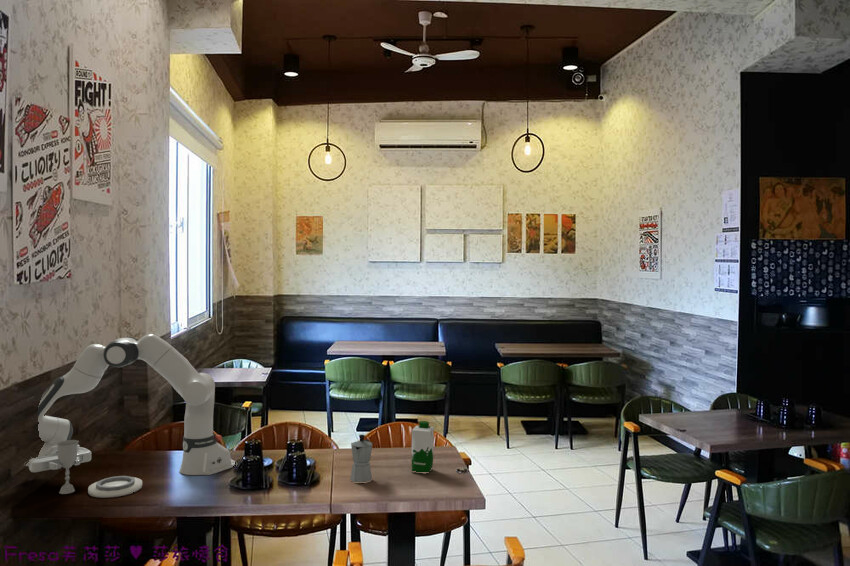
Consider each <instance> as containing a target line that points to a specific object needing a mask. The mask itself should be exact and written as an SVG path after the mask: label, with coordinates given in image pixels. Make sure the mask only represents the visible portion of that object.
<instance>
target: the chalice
mask: <svg viewBox="0 0 850 566" xmlns="http://www.w3.org/2000/svg"><path fill="white" fill-rule="evenodd" d="M79 443H80V441H79V440H77V439H70V440H67V441H61V442H58V443H56V445H57V446H58V459H59V462H60V463H61V465H62V467H61V468H63V469H65V472H64V474H65V477H64V480H65V483H64V484H63V485H62V486H61V488H60V490H59V492H58V493H59V494H61V495H67V494H72V493H74V492H75V491H76V490H75V487H74V485H73V484H71V483H70V478H71V477H70V473H71V472H70V468H71V467H72V466H73V465H74V464H73V463H74V461H75V459H76V457H77V445H79Z"/></svg>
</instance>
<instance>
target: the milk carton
mask: <svg viewBox="0 0 850 566" xmlns="http://www.w3.org/2000/svg"><path fill="white" fill-rule="evenodd" d="M429 423H430V422H429V421H428V420H426V421H425V420H420V421H419V423H418V424H419V425H415V426H414V427H413V428H412V430H411V472H412V471H416V472H429V471H430V470H431V468H432V469H433V465H434V444H435V443H434V440H435V439H434V438H435V437H434V433H435V432H434V429H435V427H434V426H431V425H429ZM431 471H432V470H431ZM431 471H430V472H431Z"/></svg>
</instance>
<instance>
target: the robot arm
mask: <svg viewBox="0 0 850 566" xmlns="http://www.w3.org/2000/svg"><path fill="white" fill-rule="evenodd" d="M137 360H142V361H144V362H145V363H146V364H147V365H149V367H151V368H152V369H153V370H154V371H155V372H157V373H158V374H159V375H160V376H161V377H163V378H164V379H165V380H166V381H167V382H168V383H169V384H170V385H171V387H172V388H173V389H174V390H175V391H176V393H178V395H180V396H181V398H183V399H182V400H184V402H185V413H184V418H183V419H184V425H183V427H184V428H183V429H184V431H183V432H184V433H183V434H184V435H183V437H182V451H183V453H182V458H181V459H182V460H181V464H180V467H179V473H180V474H182V475H186V476H201V475H202V476H211V475H214V474H217V473H220V472H222V471H226V470H228V469H231V468H234V467H235V466H234V464H235V462H236V461H235V460H233V459H232V455H231V453H230V451H229V449H228V448H226V447H224V446H223V445H222V444H220V443H219V442H218V441H221V440H222V438H223V437H222V436H223V435H220V434H214V408H215V394H216V393H215V392H216V390H215V389H216V382H215V379H214V378H213V376H211V375H210V374H208V373H206V372H198V371H197V369H195V367H194V366H193V365H192V364H191V362H189V360H188V359H187V358H186V357H185V356H184V355H182V353H180V352H179V351H178V350H177V349H176V348H175V347H173V346H172V345H171V344H170V343H169V342H167V341H166V340H164V339H163V338H161V337H160V336H158V335H156V334H155V333H154V334H153V333H148V334H145V335H144V336H142V337H141V338H140V339H137V338H135V337H132V336H125V337H119V338H116V339H114V340H113V341H111V342H109V343H108V344H107V345H106V346H105V345H103V344H100V343H99V344H98V343H92V344H89V345H88V346H87V347H85V349H84V350H83V351H82V352H81V354H80V355H79V356H78V358H77V360H76V361H75V363H74V364H73V366H72V367H71V369H70V370H69V371H68V372H66V374H64V375H62V376H60V377H59V376H58V377H57V378H55V380H53V381H52V382H51V384H50V385H49V386H48V387H47V388H46V389H45V391H44V392H43V393H42V395H41V396H42V397H41V396H40V397H41V400H40V403H39V406H38V412H37V414H38V422H39V424H38V431H39V437H40V438H41V440H42V441H44V442H45V443H44V445H43V447H42V448H41V450H40V452H39V455H38V457H36V458H32V457H31V458H30V459H29V460H28V461H29V462H28V461H27V462H28V463H27V464H26V465H25V467H28V469H29V471H30V472H31V473H40V472H45V471H49V470H51V471H53V470H54V471H55V470H60V469H62V468H63V467H62V465H61V463H60V462H59V459H58V446H57V445H56V443H58V442H61V441H67V440H72V437H73V434H74V429H73V425H72V423H71V420H69V419H65V418H60V417H55V416H51V415H45V414H46V413H47V411H48V410H49V409H50V408H51V407H52V405H54V403H55V402H56V401H57V400H58V399H59V398H61V397H64V396H68V395H76V394H77V395H78V394H85V393H87V392H90V391H92V390H94V389H95V388H96V387H97V385H99V383H100V382H101V380H102V378H103V376H104V374H105V373H106V371H107V369H108V368H109V366H110V367H113V368H123V367H126V366H128V365H131V364H133V363H134V362H136V361H137ZM44 415H45V416H44ZM91 460H92V451H91V450H90V449H88V448H85V447H81V446H80V444H77V457H76V459H75V461H74V463H73V465H74V466H79V465H81V464H82V463H88V462H90V461H91ZM233 466H234V467H233Z"/></svg>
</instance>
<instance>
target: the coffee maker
mask: <svg viewBox="0 0 850 566" xmlns="http://www.w3.org/2000/svg"><path fill="white" fill-rule="evenodd" d="M365 436H366V435H365V434H359V435H358V437H359V440H357V441H354V442H351V444H350V445H351V447H350V448H351V455H352V456H351V457H352V461H353V463H352V465H351V466H352V467H351V473H350V478H349V479H350V480H352V481H353V482H367V481H370V480H371V479H372V480H373V477H372V469H371V463H370V461H371V457H372V449H373V442H372V441H370V439H367V438H366V439H365ZM350 480H349V481H350ZM372 480H371V481H372ZM371 481H370V482H371ZM353 482H352V483H353Z"/></svg>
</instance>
